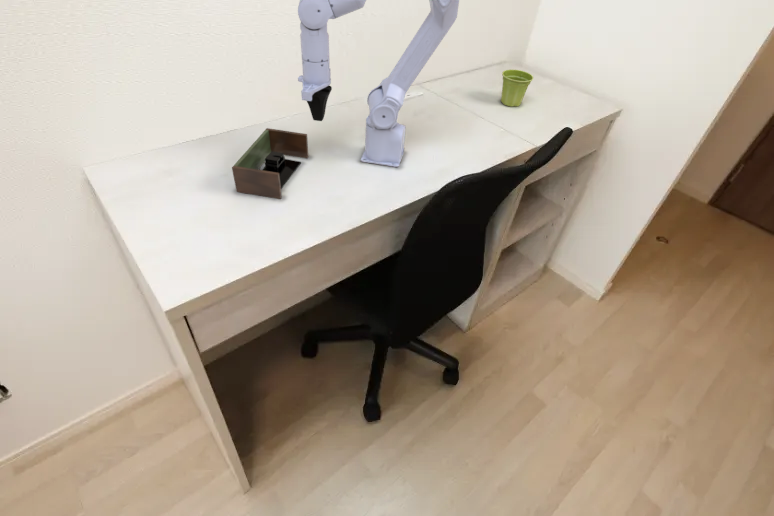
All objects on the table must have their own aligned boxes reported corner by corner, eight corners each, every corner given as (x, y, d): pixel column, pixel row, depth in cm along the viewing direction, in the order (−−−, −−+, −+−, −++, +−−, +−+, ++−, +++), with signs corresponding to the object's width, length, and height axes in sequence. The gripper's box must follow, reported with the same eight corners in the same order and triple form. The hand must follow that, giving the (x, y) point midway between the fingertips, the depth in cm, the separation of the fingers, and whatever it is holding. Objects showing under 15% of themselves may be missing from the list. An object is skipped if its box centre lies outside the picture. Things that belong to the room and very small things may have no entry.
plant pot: (529, 102, 141) (537, 74, 135) (519, 112, 135) (527, 83, 129) (502, 94, 145) (508, 67, 139) (491, 103, 139) (497, 75, 133)
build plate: (280, 191, 97) (277, 173, 93) (248, 185, 98) (245, 167, 94) (301, 163, 106) (299, 145, 102) (272, 157, 107) (270, 140, 103)
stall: (308, 156, 108) (307, 134, 104) (280, 199, 94) (277, 174, 90) (269, 150, 109) (266, 128, 105) (236, 192, 95) (231, 167, 91)
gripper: (308, 45, 99) (311, 104, 108) (285, 67, 88) (290, 130, 97) (339, 49, 98) (339, 108, 107) (319, 71, 87) (321, 135, 97)
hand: (318, 119), depth 102 cm, fingers closed
